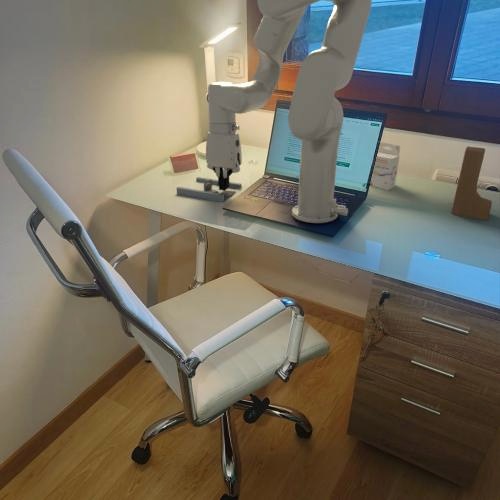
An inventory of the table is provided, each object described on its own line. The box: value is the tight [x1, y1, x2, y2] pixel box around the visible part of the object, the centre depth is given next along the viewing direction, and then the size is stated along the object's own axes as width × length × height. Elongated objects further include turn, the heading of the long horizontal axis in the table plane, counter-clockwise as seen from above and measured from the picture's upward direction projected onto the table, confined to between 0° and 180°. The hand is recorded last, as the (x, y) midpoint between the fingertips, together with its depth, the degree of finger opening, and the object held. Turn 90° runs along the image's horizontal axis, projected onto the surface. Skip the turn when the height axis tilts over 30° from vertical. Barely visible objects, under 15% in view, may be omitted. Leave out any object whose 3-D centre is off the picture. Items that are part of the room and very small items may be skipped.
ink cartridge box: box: [369, 141, 401, 191], centre depth 135 cm, size 9×5×15 cm, turn 46°
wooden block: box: [450, 146, 493, 221], centre depth 116 cm, size 9×4×18 cm, turn 62°
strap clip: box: [203, 178, 220, 194], centre depth 137 cm, size 8×3×4 cm, turn 42°
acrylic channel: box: [176, 176, 242, 203], centre depth 137 cm, size 16×12×2 cm
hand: (223, 188), depth 135 cm, fingers closed
